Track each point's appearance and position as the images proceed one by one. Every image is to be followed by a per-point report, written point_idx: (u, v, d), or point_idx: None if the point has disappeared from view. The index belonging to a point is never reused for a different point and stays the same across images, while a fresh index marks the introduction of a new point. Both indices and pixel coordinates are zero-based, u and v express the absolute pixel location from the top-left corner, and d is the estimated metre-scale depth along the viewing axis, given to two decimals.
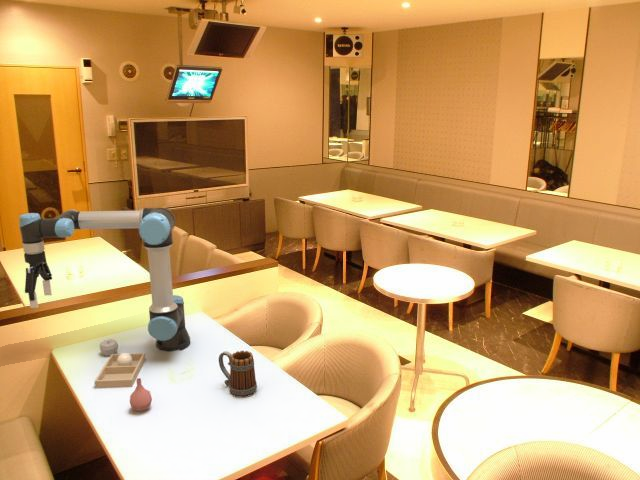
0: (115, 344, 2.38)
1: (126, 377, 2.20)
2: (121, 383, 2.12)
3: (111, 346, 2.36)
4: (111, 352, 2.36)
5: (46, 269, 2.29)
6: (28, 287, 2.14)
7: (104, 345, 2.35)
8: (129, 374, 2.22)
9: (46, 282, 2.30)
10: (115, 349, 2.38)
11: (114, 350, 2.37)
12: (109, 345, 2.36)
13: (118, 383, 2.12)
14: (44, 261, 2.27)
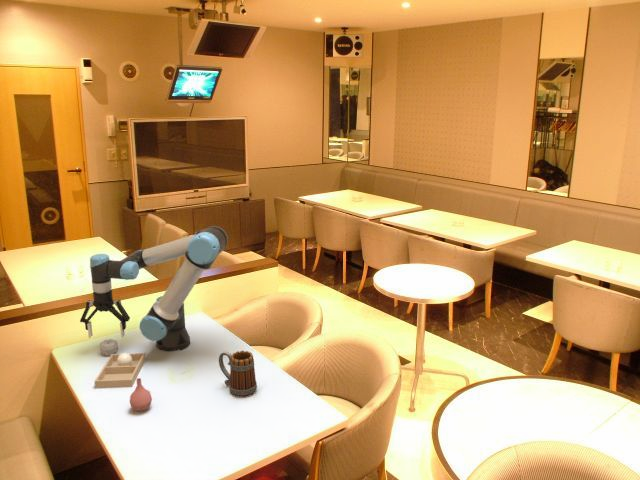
0: (115, 344, 2.38)
1: (126, 377, 2.20)
2: (121, 383, 2.12)
3: (111, 346, 2.36)
4: (111, 352, 2.36)
5: None
6: (82, 316, 2.34)
7: (104, 345, 2.35)
8: (129, 374, 2.22)
9: None
10: (115, 349, 2.38)
11: (114, 350, 2.37)
12: (109, 345, 2.36)
13: (118, 383, 2.12)
14: (116, 304, 2.33)
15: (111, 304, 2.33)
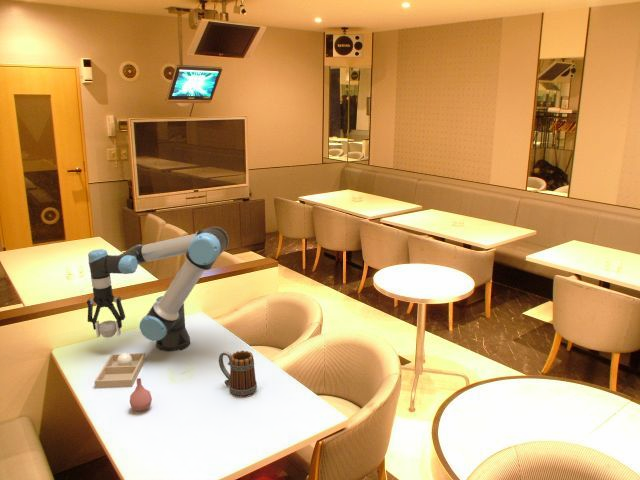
0: (114, 325, 2.35)
1: (126, 377, 2.20)
2: (121, 383, 2.12)
3: (110, 327, 2.33)
4: (110, 333, 2.34)
5: None
6: None
7: (103, 326, 2.33)
8: (129, 374, 2.22)
9: None
10: (114, 330, 2.35)
11: (113, 331, 2.35)
12: (108, 326, 2.33)
13: (118, 383, 2.12)
14: (116, 300, 2.32)
15: (111, 300, 2.32)
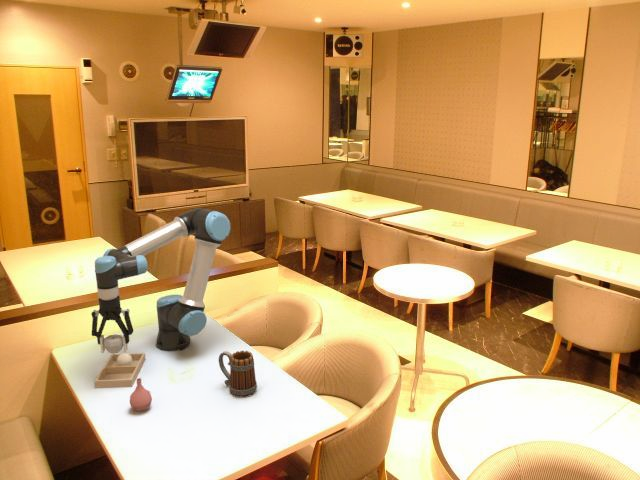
0: (121, 340, 2.12)
1: (126, 377, 2.20)
2: (121, 383, 2.12)
3: (116, 342, 2.11)
4: (116, 349, 2.11)
5: None
6: None
7: (108, 341, 2.10)
8: (129, 374, 2.22)
9: None
10: (121, 345, 2.12)
11: (120, 346, 2.12)
12: (114, 341, 2.10)
13: (118, 383, 2.12)
14: None
15: (118, 312, 2.09)
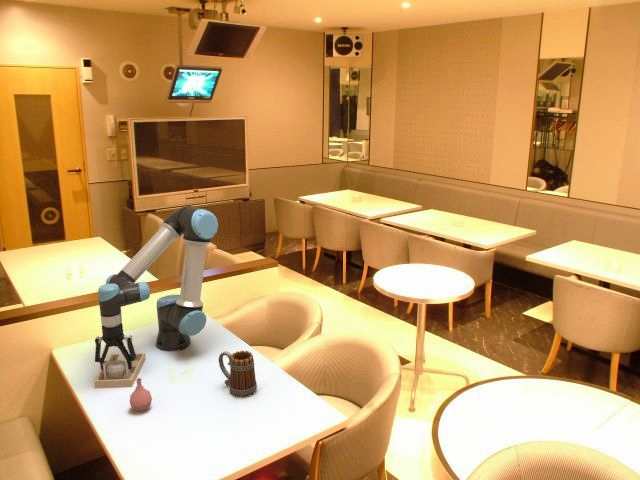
0: (123, 365, 2.15)
1: (126, 377, 2.20)
2: (121, 383, 2.12)
3: (119, 368, 2.14)
4: (119, 374, 2.14)
5: None
6: None
7: (111, 367, 2.13)
8: None
9: None
10: (123, 371, 2.15)
11: (122, 372, 2.15)
12: (117, 367, 2.13)
13: (118, 383, 2.12)
14: None
15: (121, 339, 2.12)
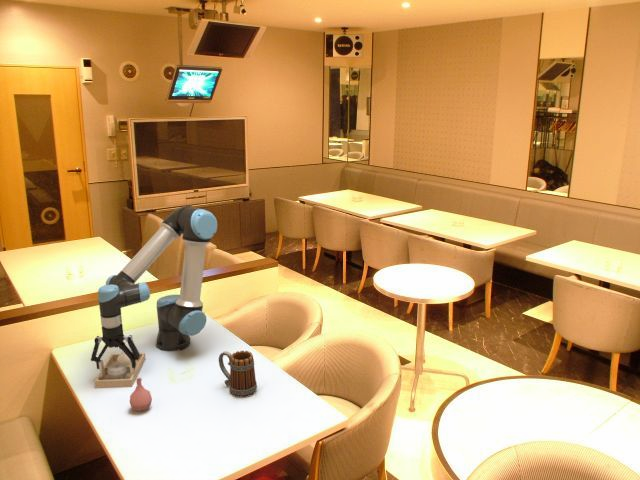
0: (124, 368, 2.16)
1: (126, 377, 2.20)
2: (121, 383, 2.12)
3: (120, 371, 2.14)
4: (120, 377, 2.15)
5: None
6: None
7: (112, 370, 2.14)
8: (129, 374, 2.22)
9: None
10: (124, 374, 2.16)
11: (123, 375, 2.15)
12: (117, 370, 2.14)
13: (118, 383, 2.12)
14: (127, 339, 2.13)
15: (122, 339, 2.12)
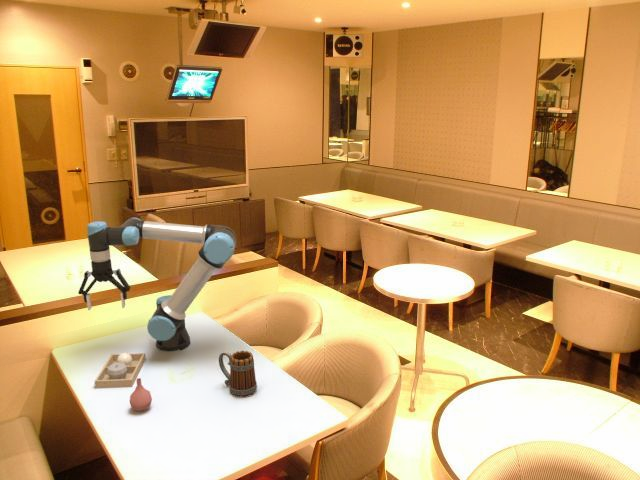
0: (124, 368, 2.16)
1: (126, 377, 2.20)
2: (121, 383, 2.12)
3: (120, 371, 2.14)
4: (120, 377, 2.15)
5: None
6: (80, 288, 2.25)
7: (112, 370, 2.14)
8: (129, 374, 2.22)
9: None
10: (124, 374, 2.16)
11: (123, 375, 2.15)
12: (117, 370, 2.14)
13: (118, 383, 2.12)
14: None
15: (111, 273, 2.24)
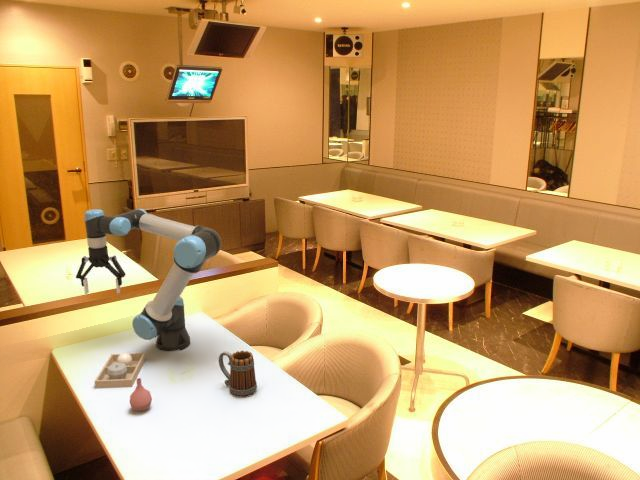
0: (124, 368, 2.16)
1: (126, 377, 2.20)
2: (121, 383, 2.12)
3: (120, 371, 2.14)
4: (120, 377, 2.15)
5: None
6: None
7: (112, 370, 2.14)
8: (129, 374, 2.22)
9: None
10: (124, 374, 2.16)
11: (123, 375, 2.15)
12: (117, 370, 2.14)
13: (118, 383, 2.12)
14: (112, 259, 2.34)
15: (106, 260, 2.33)
